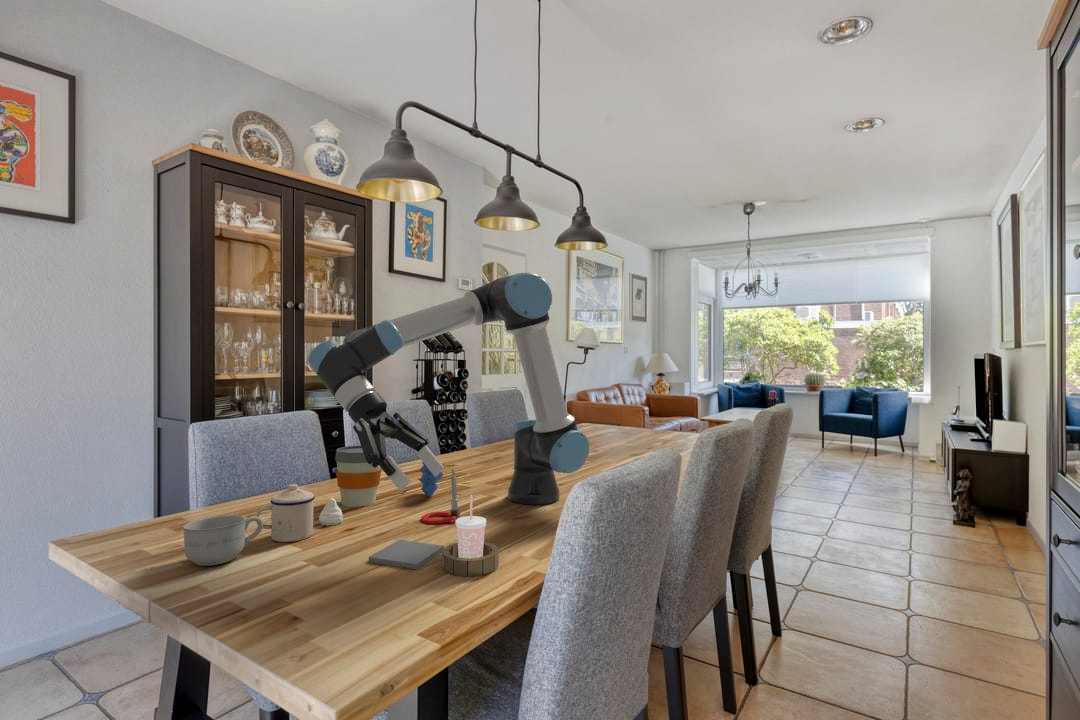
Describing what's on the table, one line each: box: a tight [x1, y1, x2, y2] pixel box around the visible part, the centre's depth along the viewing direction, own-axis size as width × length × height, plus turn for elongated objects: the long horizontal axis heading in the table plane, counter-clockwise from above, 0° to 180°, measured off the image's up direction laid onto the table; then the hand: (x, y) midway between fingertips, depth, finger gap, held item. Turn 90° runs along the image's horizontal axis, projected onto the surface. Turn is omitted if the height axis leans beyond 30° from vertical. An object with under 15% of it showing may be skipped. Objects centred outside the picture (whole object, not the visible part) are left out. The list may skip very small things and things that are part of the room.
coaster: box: [368, 539, 445, 570], centre depth 114 cm, size 11×11×1 cm
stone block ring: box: [441, 541, 500, 578], centre depth 109 cm, size 11×11×3 cm
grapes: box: [419, 461, 444, 497], centre depth 161 cm, size 12×7×12 cm, turn 29°
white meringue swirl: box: [318, 497, 344, 527], centre depth 135 cm, size 6×6×5 cm
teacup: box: [182, 514, 264, 567], centre depth 110 cm, size 14×11×8 cm
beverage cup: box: [455, 494, 487, 559], centre depth 109 cm, size 6×6×14 cm
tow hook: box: [420, 468, 461, 525], centre depth 139 cm, size 8×13×9 cm
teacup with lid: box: [255, 483, 315, 543], centre depth 124 cm, size 12×9×12 cm
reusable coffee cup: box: [334, 444, 382, 508], centre depth 153 cm, size 13×13×15 cm
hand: (423, 479), depth 112 cm, fingers open, 13 cm apart
